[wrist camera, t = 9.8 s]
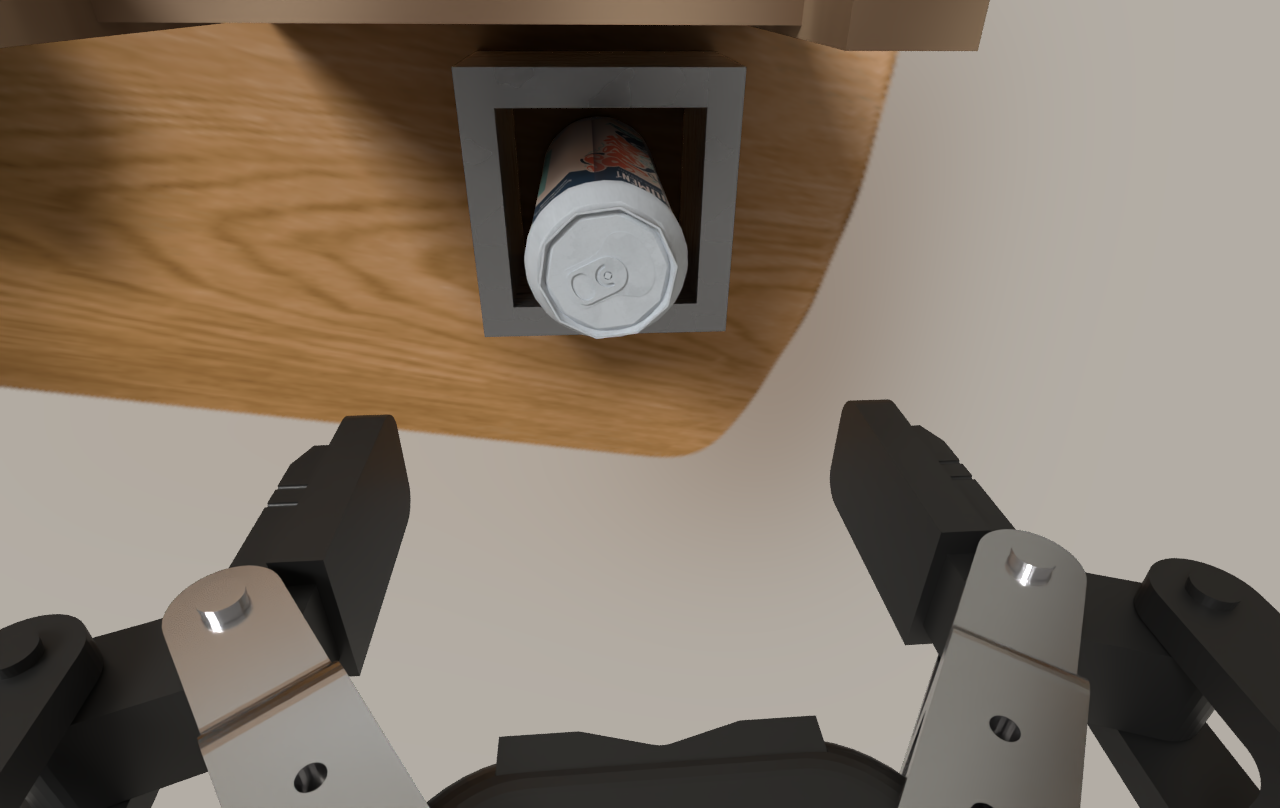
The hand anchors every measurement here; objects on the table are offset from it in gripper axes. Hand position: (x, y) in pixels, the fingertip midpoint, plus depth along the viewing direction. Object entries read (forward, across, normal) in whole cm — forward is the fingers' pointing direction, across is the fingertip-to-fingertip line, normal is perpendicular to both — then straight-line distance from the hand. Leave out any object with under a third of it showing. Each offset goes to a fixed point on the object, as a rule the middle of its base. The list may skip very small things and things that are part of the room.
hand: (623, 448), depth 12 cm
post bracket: (+20, 0, 0) cm, 20 cm away
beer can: (+20, 0, 0) cm, 20 cm away
